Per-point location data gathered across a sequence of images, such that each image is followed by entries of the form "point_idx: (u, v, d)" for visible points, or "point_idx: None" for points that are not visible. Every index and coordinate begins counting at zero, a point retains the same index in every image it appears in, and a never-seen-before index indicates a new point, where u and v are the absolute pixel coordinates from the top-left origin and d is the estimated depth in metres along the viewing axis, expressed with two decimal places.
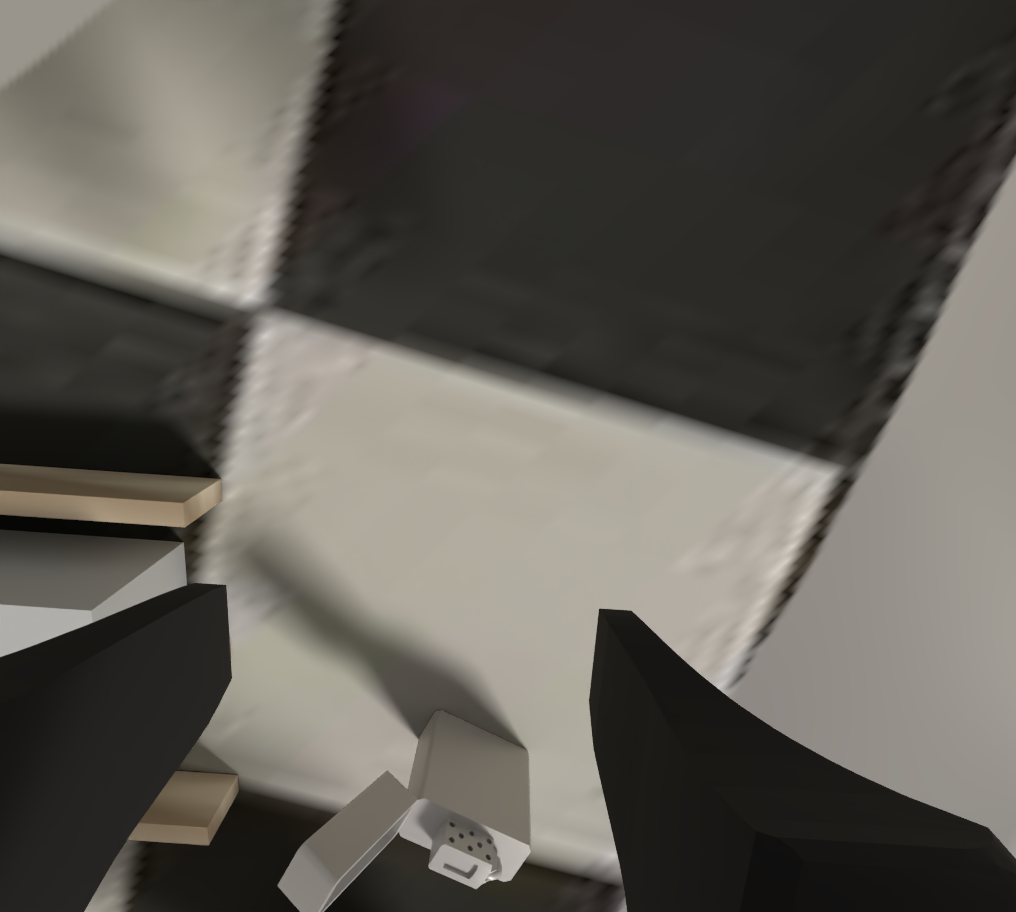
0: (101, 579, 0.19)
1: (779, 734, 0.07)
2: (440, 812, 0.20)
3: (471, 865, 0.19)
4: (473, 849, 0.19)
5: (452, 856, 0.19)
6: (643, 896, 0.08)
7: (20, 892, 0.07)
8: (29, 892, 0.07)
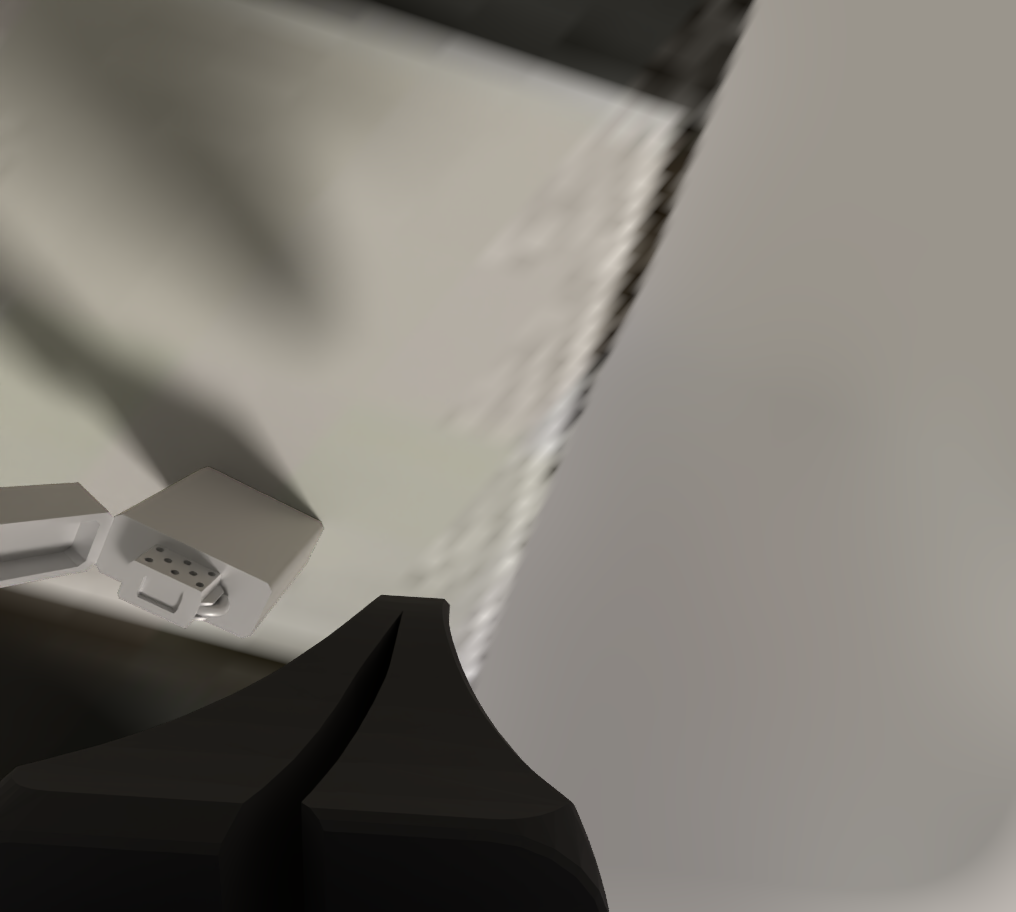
0: None
1: (479, 715, 0.07)
2: (146, 536, 0.15)
3: (177, 596, 0.14)
4: (180, 574, 0.14)
5: (150, 582, 0.14)
6: None
7: None
8: None
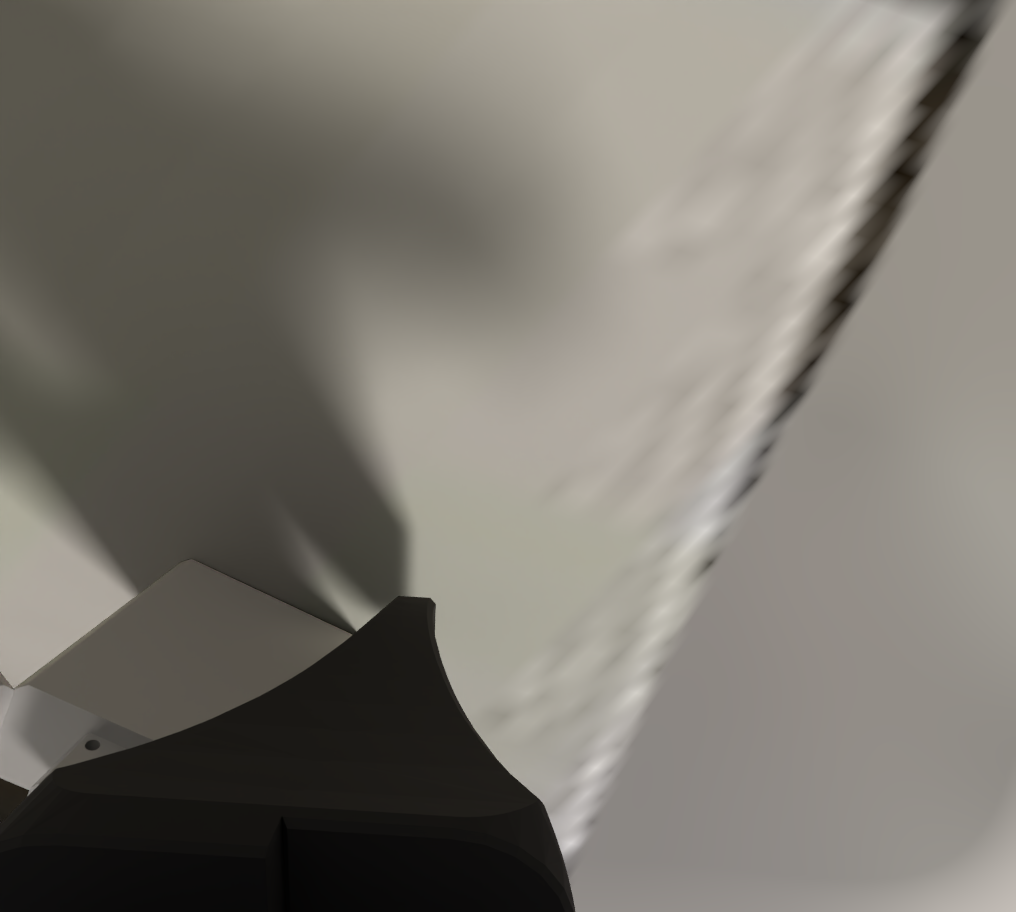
0: None
1: (457, 713, 0.07)
2: (70, 719, 0.09)
3: None
4: None
5: None
6: None
7: None
8: None
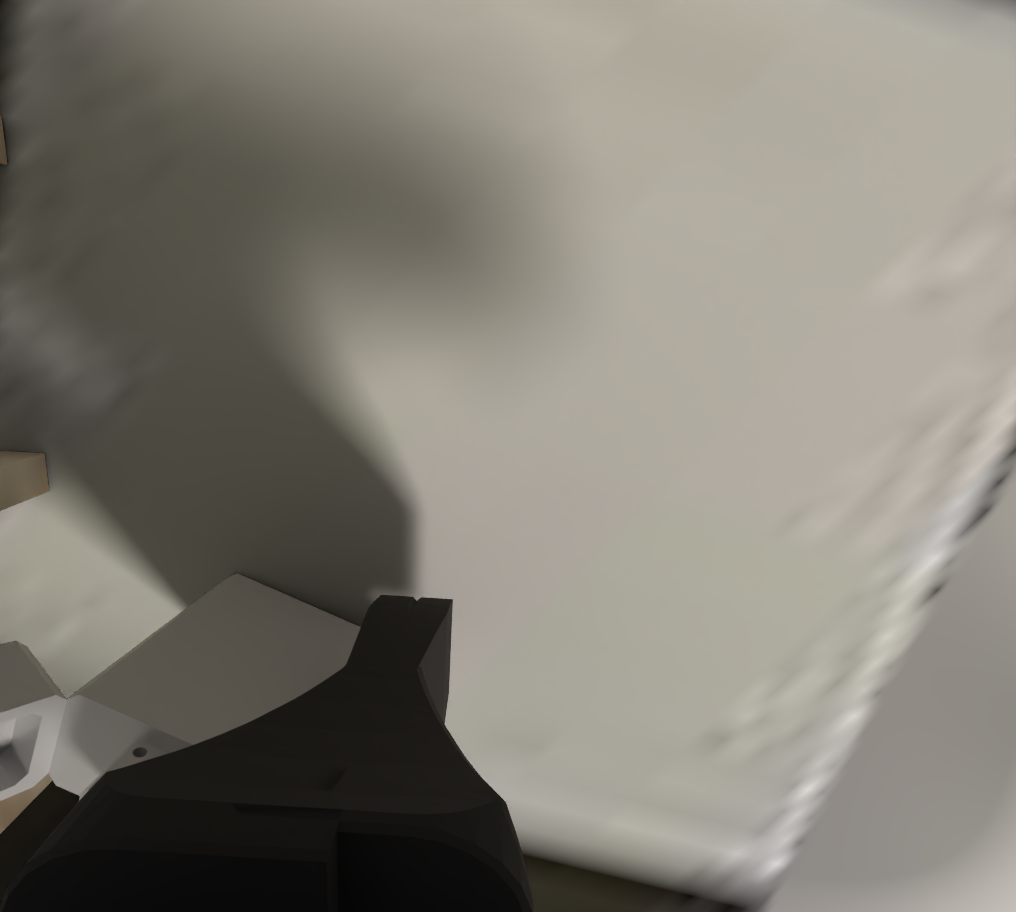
0: None
1: (429, 712, 0.07)
2: (118, 728, 0.09)
3: None
4: None
5: None
6: None
7: None
8: None
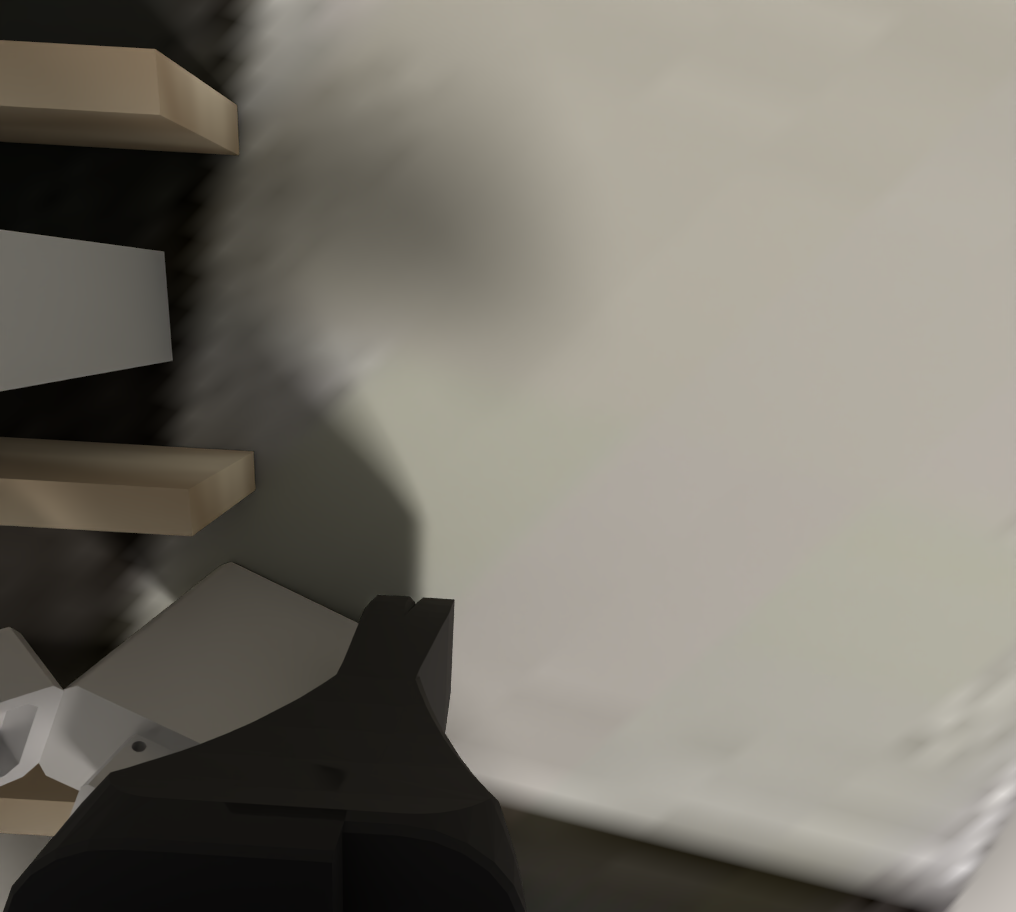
0: None
1: (424, 711, 0.07)
2: (117, 721, 0.09)
3: None
4: None
5: None
6: None
7: None
8: None
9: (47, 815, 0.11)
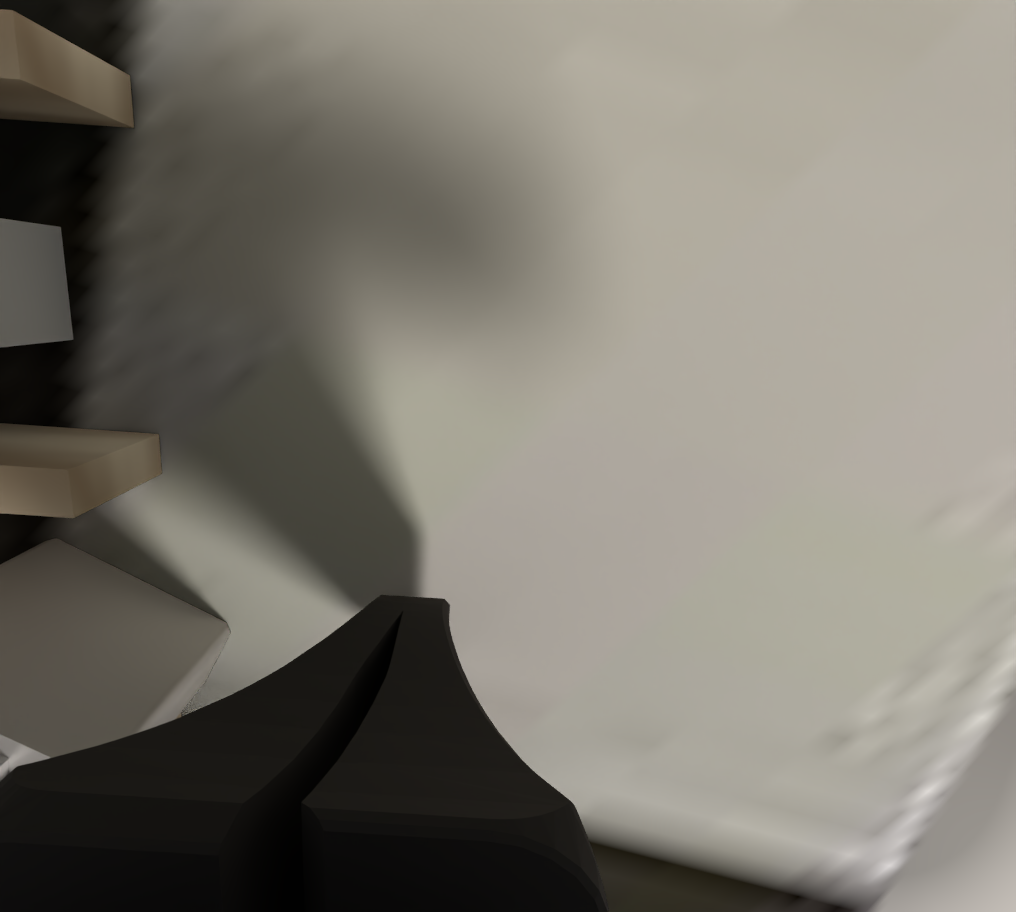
0: None
1: (479, 715, 0.07)
2: None
3: None
4: None
5: None
6: None
7: None
8: None
9: None
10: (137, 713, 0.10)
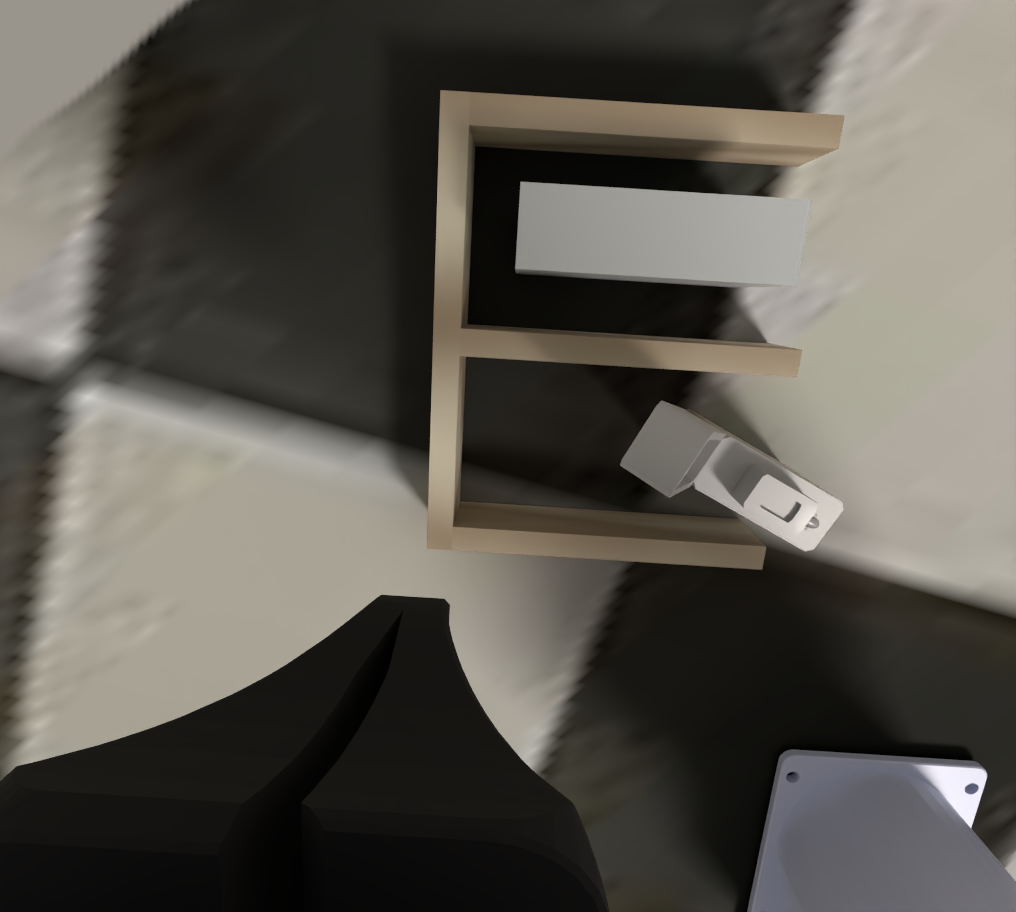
0: None
1: (479, 715, 0.07)
2: (746, 457, 0.17)
3: (790, 508, 0.17)
4: (793, 489, 0.17)
5: (770, 495, 0.17)
6: None
7: None
8: None
9: (667, 550, 0.20)
10: (817, 486, 0.19)
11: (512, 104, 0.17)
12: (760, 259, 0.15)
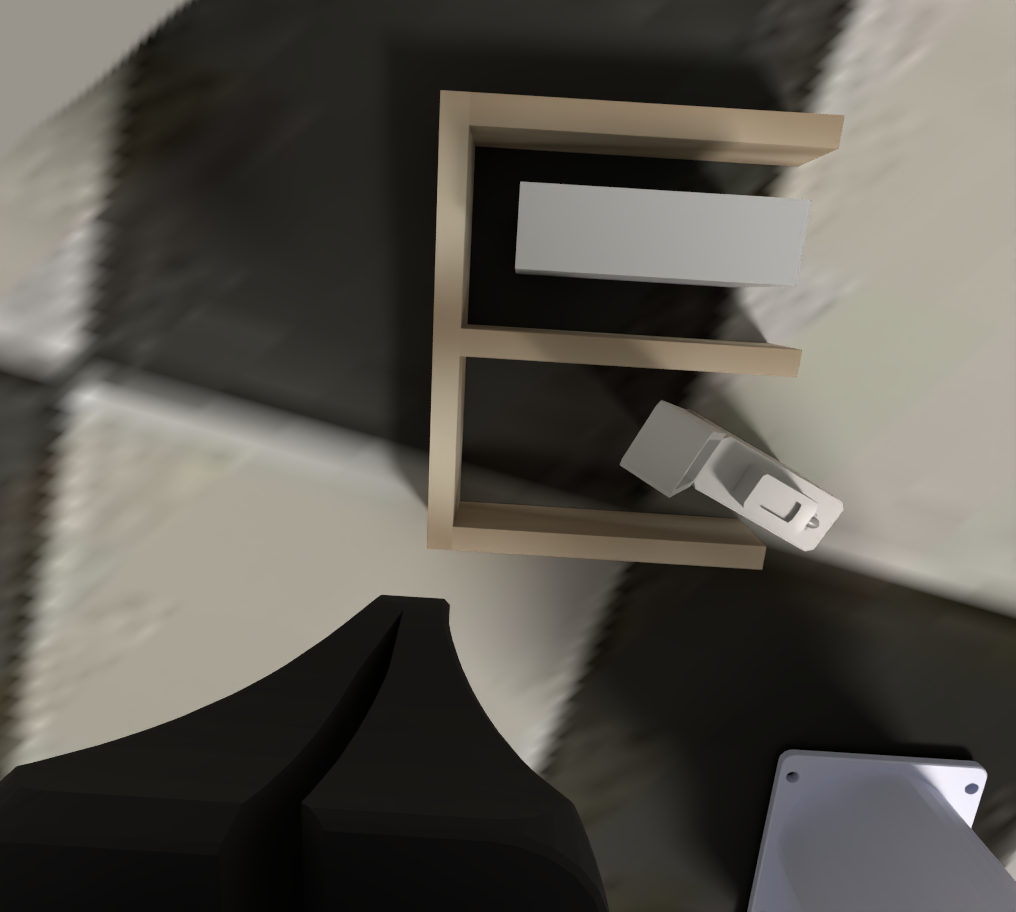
0: None
1: (479, 715, 0.07)
2: (746, 457, 0.17)
3: (790, 508, 0.17)
4: (793, 488, 0.17)
5: (770, 495, 0.17)
6: None
7: None
8: None
9: (667, 550, 0.20)
10: (817, 486, 0.19)
11: (512, 104, 0.17)
12: (759, 259, 0.15)
